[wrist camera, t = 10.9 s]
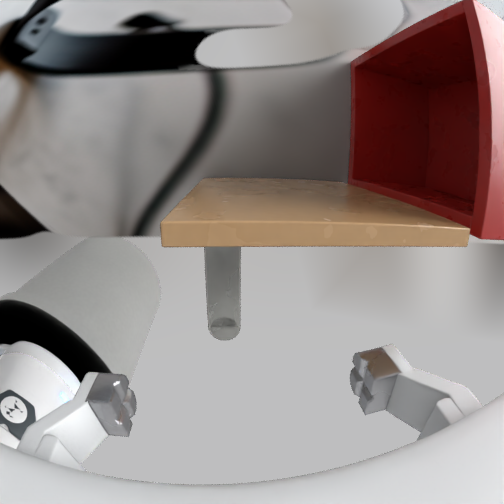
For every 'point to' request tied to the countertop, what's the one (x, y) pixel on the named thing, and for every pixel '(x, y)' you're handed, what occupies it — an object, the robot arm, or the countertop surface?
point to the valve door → (289, 228)
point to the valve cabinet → (435, 117)
